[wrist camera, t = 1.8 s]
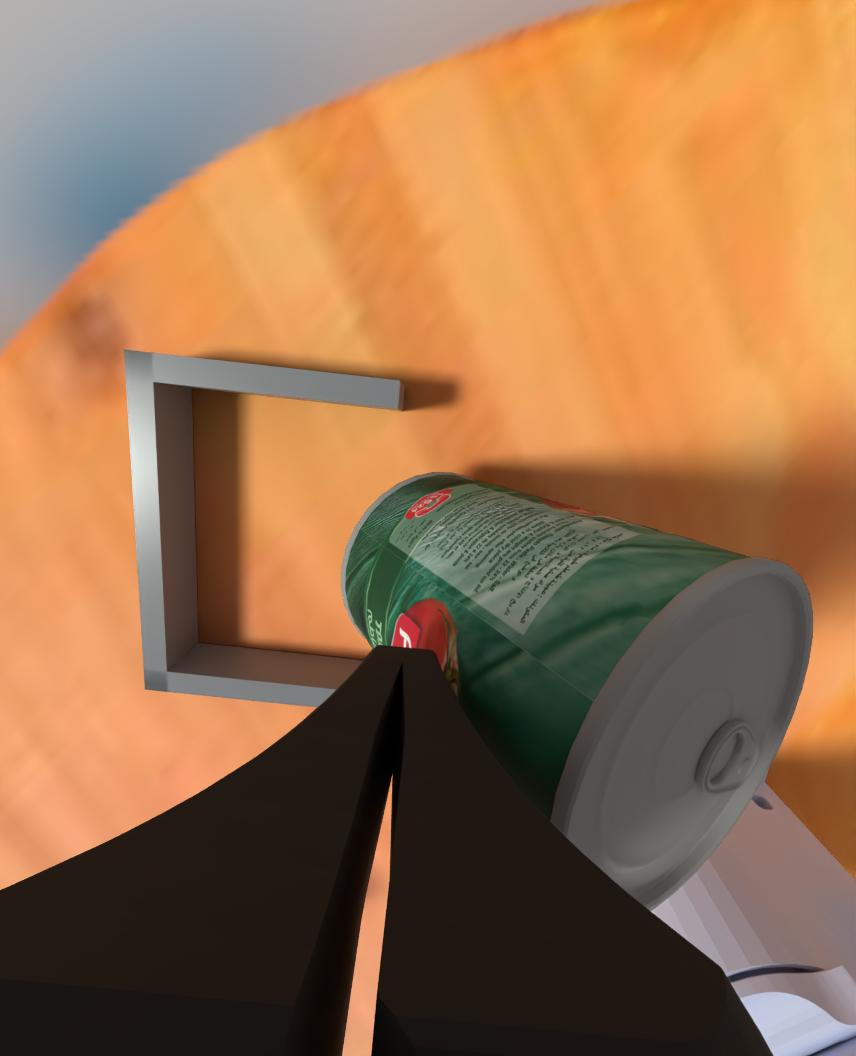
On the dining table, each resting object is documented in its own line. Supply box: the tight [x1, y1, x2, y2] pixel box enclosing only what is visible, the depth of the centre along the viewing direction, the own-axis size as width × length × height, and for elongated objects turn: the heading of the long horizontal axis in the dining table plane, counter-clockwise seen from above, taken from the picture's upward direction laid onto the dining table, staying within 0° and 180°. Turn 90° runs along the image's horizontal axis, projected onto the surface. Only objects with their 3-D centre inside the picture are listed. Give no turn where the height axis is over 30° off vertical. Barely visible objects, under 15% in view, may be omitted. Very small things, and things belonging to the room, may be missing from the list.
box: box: [124, 350, 405, 707], centre depth 18 cm, size 10×14×2 cm
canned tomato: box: [341, 472, 813, 911], centre depth 13 cm, size 8×8×11 cm
